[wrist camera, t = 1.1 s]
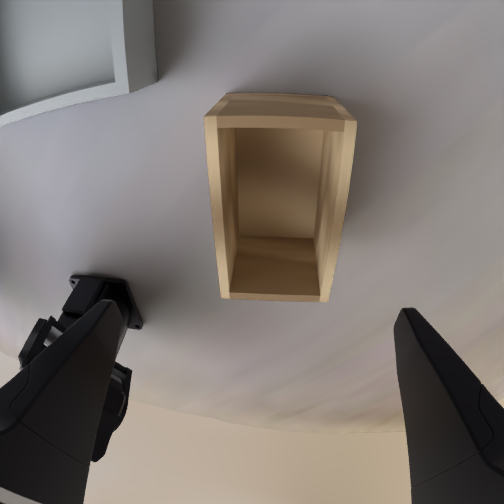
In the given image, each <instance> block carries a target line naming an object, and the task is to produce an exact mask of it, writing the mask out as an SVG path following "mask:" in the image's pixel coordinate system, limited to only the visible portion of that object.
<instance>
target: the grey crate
mask: <svg viewBox="0 0 504 504" xmlns="http://www.w3.org/2000/svg"><path fill="white" fill-rule="evenodd" d="M156 82H158V74H157V62H156V48H155V32H154V12H153V0H0V126H3V125H5V124H8V123H11V122H14V121H17V120H20V119H23V118H26V117H30V116H33V115H36V114H40V113H43V112H47V111H50V110H54V109H58V108H62V107H66V106H70V105H74V104H78V103H82V102H87V101H92V100H97V99H101V98H107V97H112V96H118V95H124V94H130V93H132V92H134V91H137V90H139V89H141V88H144V87H146V86H149V85H151V84H154V83H156Z"/></svg>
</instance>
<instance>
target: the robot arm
mask: <svg viewBox="0 0 504 504" xmlns="http://www.w3.org/2000/svg"><path fill="white" fill-rule="evenodd" d="M69 282H70V284H71V286H72V288H73V291H72V293H71V294H70V296H69V298H68V299H67V301H66V303H65V305H64V306H63V308H62V311H63V313H62V314H61V316H60V318H59V320H58V321H56V319H55V318H54V317H52V316H50V317H49V319H48V320H46V319H41V318H39V319H38V321H37V323H36V325H35V326H34V328H33V330H32V332H31V333H30V335H29V337H28V339H27V341H26V343H25V344H24V346H23V348H22V350H21V352H20V354H19V356H18V357H19V361H20V365H21V366H20V370H21V371H20V372H19V373H18V374H17V375H16V376H15V377H13V378H12V379H11V380H10V381H9V382H8V383H6V384H5V385H4V386H3V387H1V388H0V504H83V502H84V495H85V489H86V483H87V478H88V472H89V466H90V461H93V462H97V461H98V460H99V459H101V458H102V457H103V456H104V455H105V452H106V449H107V446H108V443H109V440H110V437H111V435H112V433H113V432H114V431H115V430H116V429H117V428H118V427H119V425H120V424H121V422H122V421H123V418H124V416H125V414H126V410H127V406H128V398H129V390H130V382H131V375H132V370H131V369H129V368H127V367H126V368H125V367H124V366H122V365H120V364H119V363H117V362H116V361H115V359H116V356H117V354H118V351H119V349H120V346H121V344H122V341H123V339H124V336H125V334H126V331H127V329H128V328H130V329H138V330H140V329H142V327H143V323H142V321H141V318H140V316H139V313H138V311H137V308H136V306H135V303H134V300H133V298H132V295H131V292H130V290H129V287H128V284H127V283H126V282H125V281H124V280H119V279H107V278H95V277H84V276H71V277H70V279H69ZM394 341H395V352H396V365H397V375H398V382H399V388H400V394H401V400H402V406H403V413H404V420H405V428H406V435H407V445H408V455H409V466H410V479H411V487H412V488H411V498H412V504H504V408H503V407H502V406H501V405H500V404H499V403H498V402H497V401H496V399H495V398H494V397H493V396H492V395H491V394H490V392H489V391H488V390H487V389H486V387H485V386H484V385H483V384H481V382H480V380H479V379H478V378H477V377H476V376H475V374H474V373H473V372H472V371H471V370H470V368H469V367H468V366H467V365H466V364H465V363H464V361H463V360H462V359H461V358H460V357H459V356H458V355H457V353H456V352H455V351H454V350H453V349H452V348H451V347H450V346H449V344H448V343H447V342H446V341H445V340H444V339H443V338H442V337H441V336H440V334H439V333H438V332H437V331H436V330H435V329H434V328H433V327H432V326H431V325H430V324H429V323H428V321H427V320H426V319H425V318H424V317H423V316H422V315H421V314H420V313H419V312H418V311H417V310H416V309H415V308H412V307H411V308H402V309H401V311H400V313H399V315H398V318H397V320H396V322H395V325H394ZM44 343H45V344H46V345H47V346H48V347H47V346H45V345H44Z"/></svg>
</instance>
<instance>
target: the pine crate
mask: <svg viewBox="0 0 504 504" xmlns="http://www.w3.org/2000/svg"><path fill="white" fill-rule="evenodd" d="M204 126H205V140H206V153H207V165H208V177H209V188H210V199H211V210H212V220H213V230H214V240H215V249H216V258H217V267H218V276H219V285H220V293H221V298H227V299H247V300H270V301H301V302H328V299H329V295H330V290H331V286H332V281H333V276H334V271H335V266H336V261H337V256H338V251H339V245H340V240H341V234H342V229H343V223H344V217H345V211H346V205H347V198H348V192H349V185H350V178H351V171H352V163H353V155H354V147H355V138H356V129H357V121H356V120H355V118H354V117H353V116H352V115H351V114H350V113H349V112H348V111H347V110H346V109H345V108H344V107H343V106H342V105H341V104H340V103H339V102H338V101H337V100H336V99H335V98H334V97H333V96H322V95H307V94H287V93H227V94H226V95H225V96H224V97H223V98H222V99H221V100H220V101H219V102H218V103H217V104H216V105H215V106H214V107H213V108H212V109H211V110H210V111H209V112H208V113H207V114H206V115H205V116H204Z"/></svg>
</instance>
